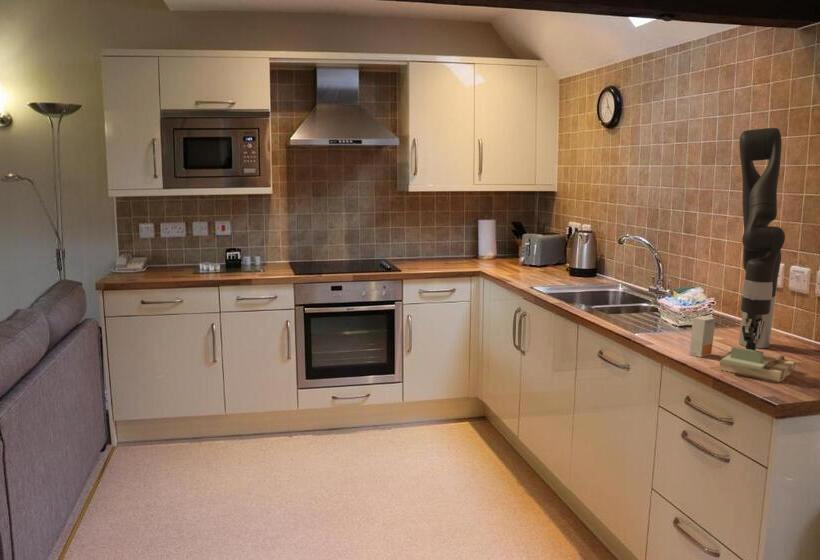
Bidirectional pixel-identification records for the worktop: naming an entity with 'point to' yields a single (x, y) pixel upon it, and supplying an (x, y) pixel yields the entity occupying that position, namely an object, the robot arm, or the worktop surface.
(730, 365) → the board
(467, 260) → the worktop surface
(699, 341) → the skincare box
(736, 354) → the cover
